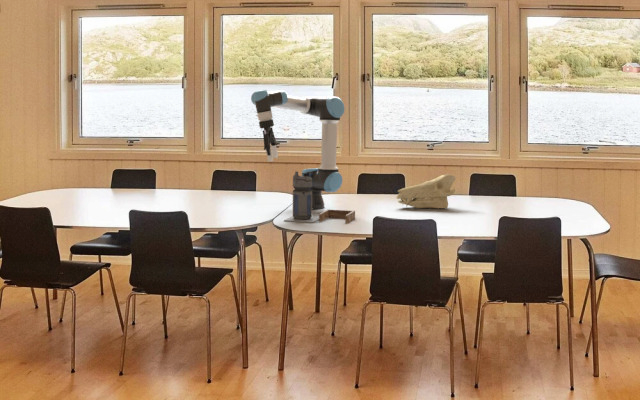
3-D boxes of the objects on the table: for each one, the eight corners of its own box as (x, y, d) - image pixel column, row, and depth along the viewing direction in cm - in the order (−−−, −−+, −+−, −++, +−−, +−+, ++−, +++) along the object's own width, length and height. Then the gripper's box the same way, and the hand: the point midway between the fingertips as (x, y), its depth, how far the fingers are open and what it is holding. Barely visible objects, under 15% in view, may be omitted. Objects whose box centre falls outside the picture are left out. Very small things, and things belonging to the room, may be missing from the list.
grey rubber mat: (294, 216, 405) (294, 215, 405) (322, 218, 401) (322, 216, 401) (283, 221, 388) (283, 220, 388) (313, 222, 384) (313, 221, 384)
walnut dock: (327, 216, 405) (327, 209, 405) (354, 218, 401) (355, 210, 401) (319, 221, 388) (319, 214, 388) (347, 223, 384) (347, 215, 384)
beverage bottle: (318, 218, 396) (319, 170, 393) (301, 220, 387) (302, 172, 383) (304, 216, 403) (305, 169, 400) (287, 218, 393) (287, 171, 390)
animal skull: (457, 209, 441) (458, 175, 438) (399, 210, 436) (400, 175, 433) (449, 206, 456) (450, 173, 453) (392, 206, 451) (393, 173, 448)
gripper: (263, 118, 406) (270, 157, 410) (253, 123, 382) (261, 164, 386) (277, 116, 405) (284, 155, 409) (267, 121, 381) (275, 161, 384)
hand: (273, 159), depth 397 cm, fingers open, 13 cm apart
